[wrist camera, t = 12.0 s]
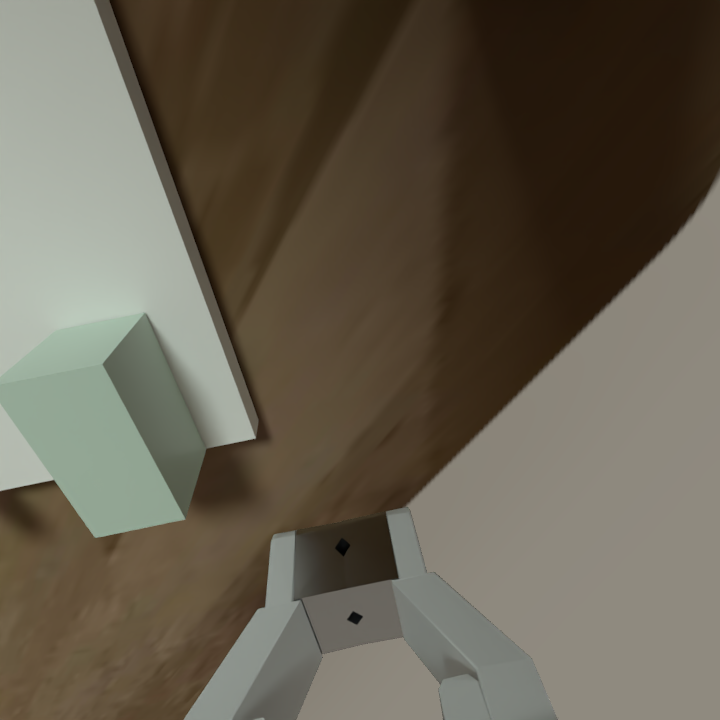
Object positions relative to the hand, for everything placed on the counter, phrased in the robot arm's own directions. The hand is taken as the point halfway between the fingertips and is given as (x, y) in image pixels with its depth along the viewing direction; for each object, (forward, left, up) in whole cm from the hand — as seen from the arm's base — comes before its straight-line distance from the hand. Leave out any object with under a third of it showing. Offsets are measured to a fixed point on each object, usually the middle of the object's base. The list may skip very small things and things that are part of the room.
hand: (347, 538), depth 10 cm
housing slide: (0, -7, -8) cm, 10 cm away
